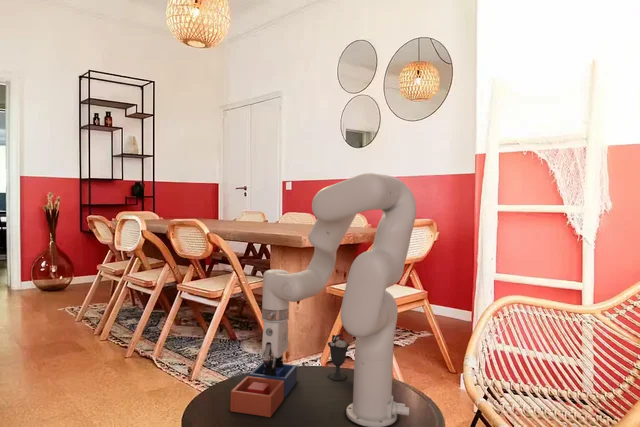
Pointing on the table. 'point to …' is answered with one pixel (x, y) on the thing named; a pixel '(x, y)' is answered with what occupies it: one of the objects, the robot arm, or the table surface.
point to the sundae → (338, 354)
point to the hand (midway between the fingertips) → (273, 376)
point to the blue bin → (288, 377)
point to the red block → (258, 388)
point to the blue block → (279, 372)
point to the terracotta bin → (257, 397)
